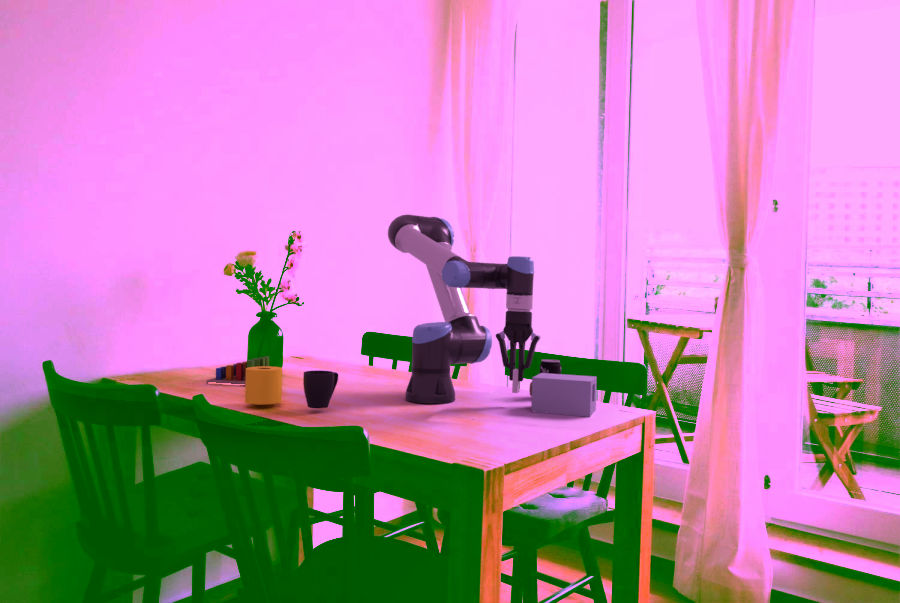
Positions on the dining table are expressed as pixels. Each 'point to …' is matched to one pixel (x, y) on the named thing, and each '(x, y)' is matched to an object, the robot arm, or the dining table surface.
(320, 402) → the mug
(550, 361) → the beverage can
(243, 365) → the peg board toy
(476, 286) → the robot arm
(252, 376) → the toilet paper roll
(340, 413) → the dining table surface
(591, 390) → the block
